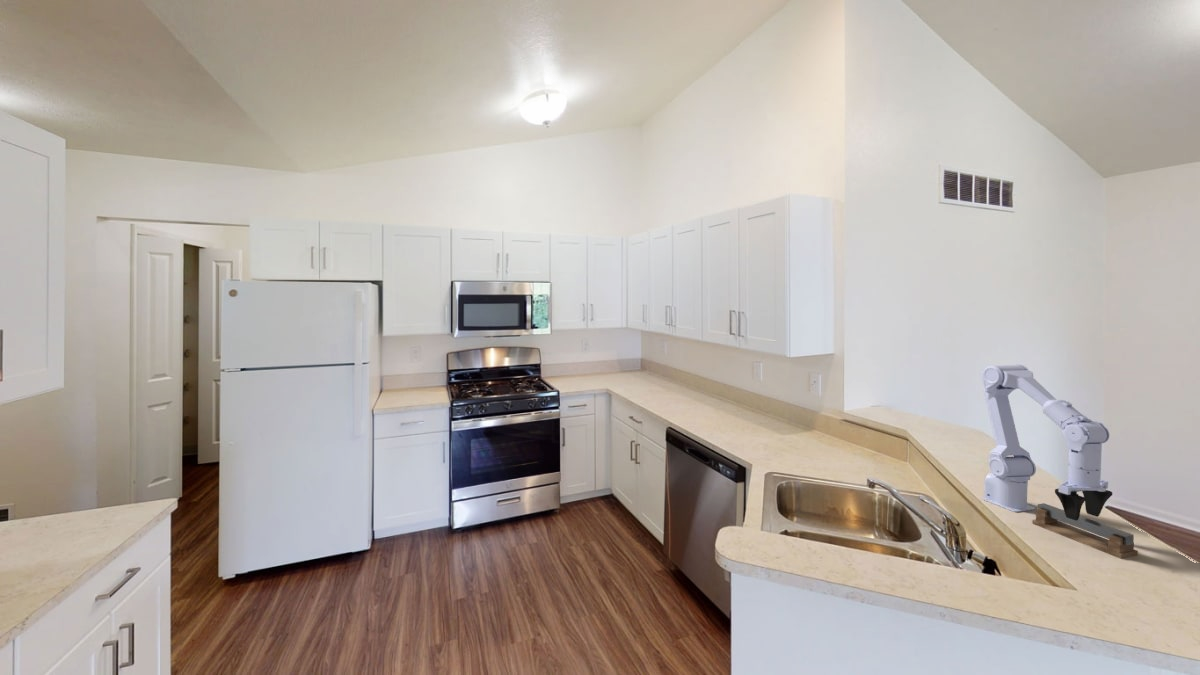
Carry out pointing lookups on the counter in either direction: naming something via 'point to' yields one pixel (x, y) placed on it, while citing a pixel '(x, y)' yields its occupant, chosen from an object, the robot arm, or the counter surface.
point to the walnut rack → (1085, 536)
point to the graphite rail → (1087, 524)
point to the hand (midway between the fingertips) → (1082, 516)
